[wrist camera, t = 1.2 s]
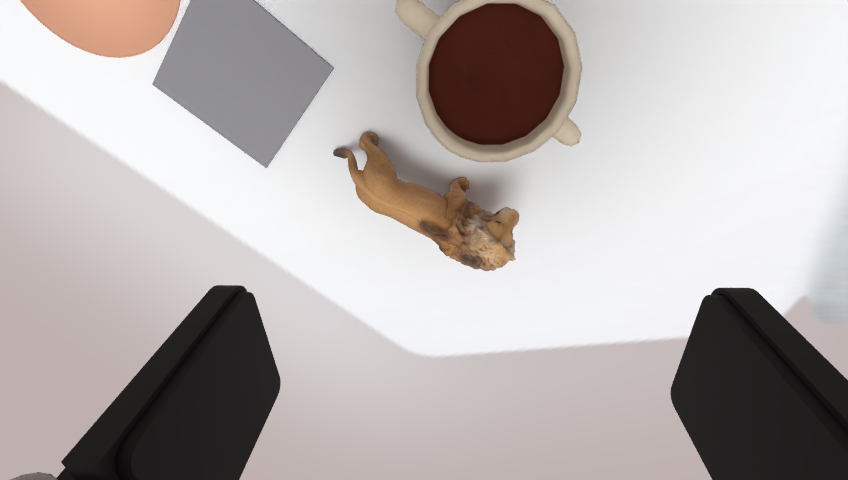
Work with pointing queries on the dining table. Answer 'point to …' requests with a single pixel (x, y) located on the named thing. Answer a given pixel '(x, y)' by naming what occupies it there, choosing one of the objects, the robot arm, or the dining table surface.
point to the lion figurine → (434, 211)
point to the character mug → (495, 76)
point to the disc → (107, 23)
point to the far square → (241, 74)
